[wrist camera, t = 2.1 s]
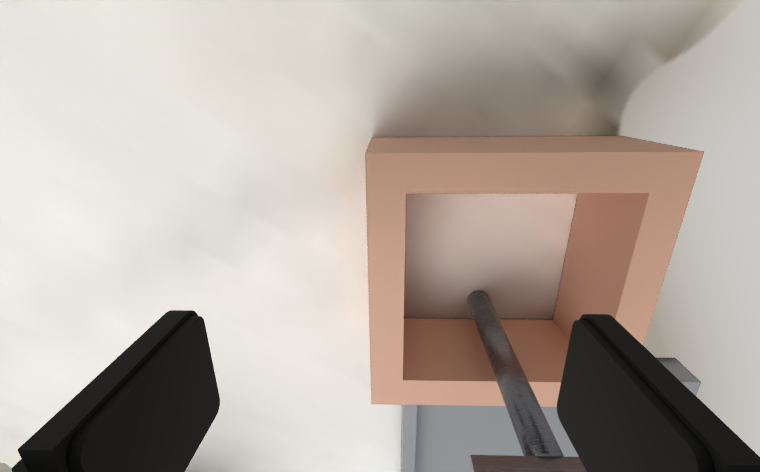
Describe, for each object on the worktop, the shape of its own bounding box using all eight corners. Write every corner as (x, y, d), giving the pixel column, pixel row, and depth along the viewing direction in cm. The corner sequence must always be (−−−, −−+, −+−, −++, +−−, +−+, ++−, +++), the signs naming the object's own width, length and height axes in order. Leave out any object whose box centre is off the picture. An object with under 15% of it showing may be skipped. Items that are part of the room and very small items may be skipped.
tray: (402, 354, 23) (404, 378, 21) (674, 357, 22) (701, 382, 20) (400, 524, 29) (400, 554, 27) (613, 529, 28) (628, 560, 26)
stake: (435, 290, 21) (479, 488, 10) (523, 291, 21) (656, 492, 10) (434, 308, 21) (475, 515, 11) (520, 309, 21) (645, 519, 11)
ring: (371, 137, 18) (365, 153, 13) (621, 135, 17) (703, 151, 13) (375, 338, 22) (371, 404, 18) (574, 340, 22) (623, 407, 17)
